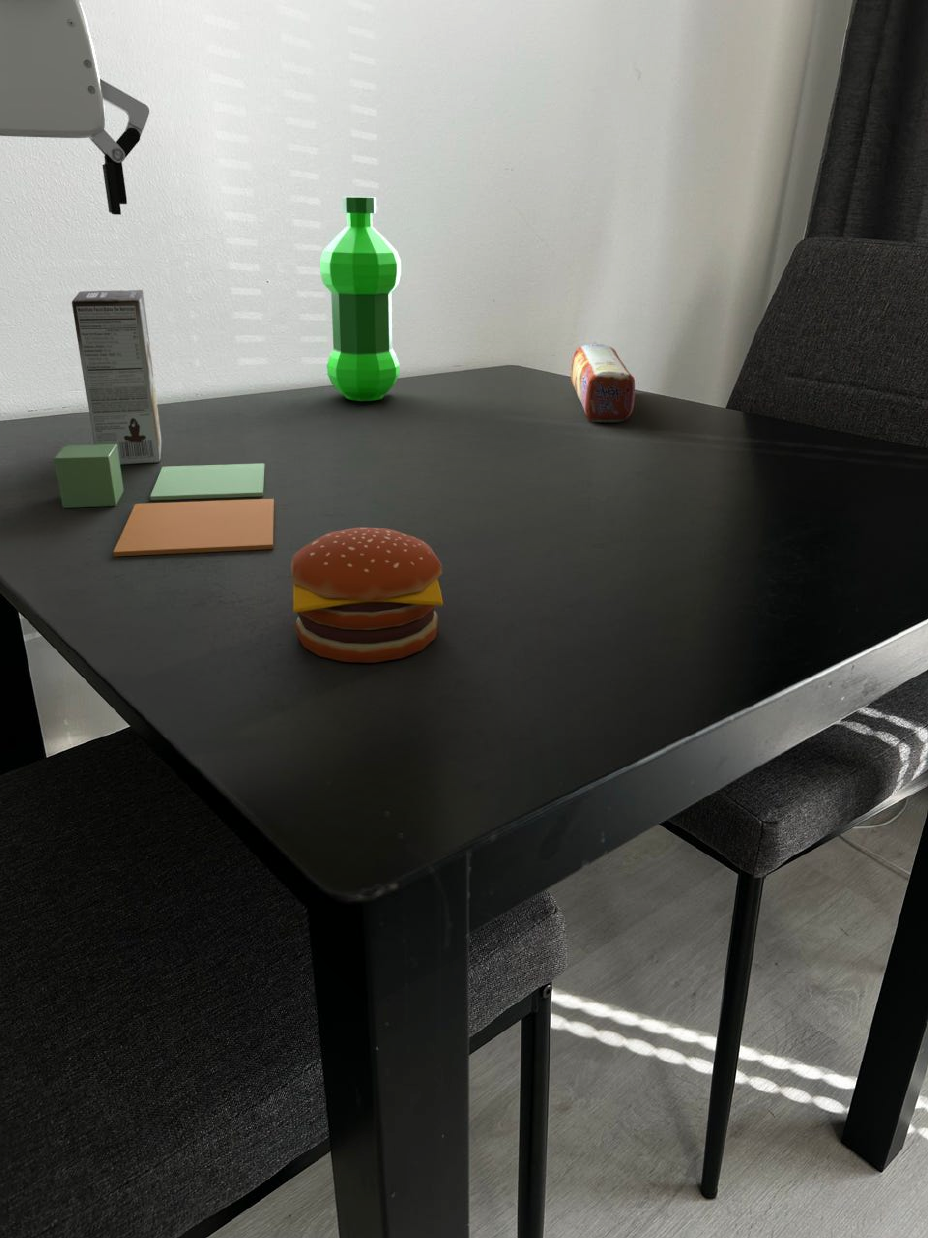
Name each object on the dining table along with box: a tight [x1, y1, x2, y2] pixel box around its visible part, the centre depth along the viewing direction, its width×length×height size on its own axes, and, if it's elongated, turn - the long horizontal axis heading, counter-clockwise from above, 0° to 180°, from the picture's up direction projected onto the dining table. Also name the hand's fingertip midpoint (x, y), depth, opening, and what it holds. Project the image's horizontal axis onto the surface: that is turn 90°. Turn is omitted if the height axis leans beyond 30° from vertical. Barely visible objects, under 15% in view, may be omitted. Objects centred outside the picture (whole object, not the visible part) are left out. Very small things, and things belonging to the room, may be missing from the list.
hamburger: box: [290, 526, 444, 664], centre depth 57 cm, size 9×10×7 cm
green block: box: [53, 443, 124, 509], centre depth 82 cm, size 4×4×4 cm
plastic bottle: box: [319, 196, 402, 402], centre depth 120 cm, size 10×10×25 cm
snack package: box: [570, 343, 636, 423], centre depth 121 cm, size 21×7×7 cm, turn 178°
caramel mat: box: [112, 498, 275, 557], centre depth 76 cm, size 12×12×1 cm
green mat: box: [149, 463, 265, 501], centre depth 88 cm, size 10×10×1 cm
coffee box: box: [71, 289, 163, 465], centre depth 94 cm, size 9×6×16 cm
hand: (55, 213), depth 78 cm, fingers open, 9 cm apart
